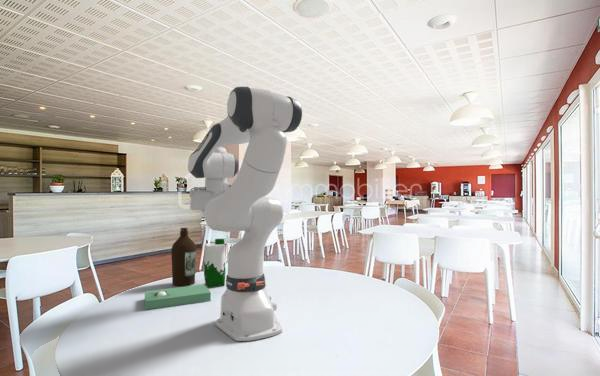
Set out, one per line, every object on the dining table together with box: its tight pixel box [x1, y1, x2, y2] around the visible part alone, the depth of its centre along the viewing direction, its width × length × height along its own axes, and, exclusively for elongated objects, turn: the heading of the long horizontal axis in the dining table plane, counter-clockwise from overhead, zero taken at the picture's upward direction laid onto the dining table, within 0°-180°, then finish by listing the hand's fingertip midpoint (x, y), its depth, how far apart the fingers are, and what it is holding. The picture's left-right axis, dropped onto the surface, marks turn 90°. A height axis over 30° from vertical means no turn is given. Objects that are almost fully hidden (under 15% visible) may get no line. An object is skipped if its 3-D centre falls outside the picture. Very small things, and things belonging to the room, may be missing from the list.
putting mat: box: [144, 283, 212, 311], centre depth 121 cm, size 22×13×3 cm, turn 117°
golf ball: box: [157, 291, 167, 296], centre depth 119 cm, size 4×4×4 cm
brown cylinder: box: [170, 227, 197, 287], centre depth 145 cm, size 11×11×25 cm
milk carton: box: [203, 238, 227, 288], centre depth 143 cm, size 9×9×20 cm
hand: (216, 221), depth 131 cm, fingers closed
